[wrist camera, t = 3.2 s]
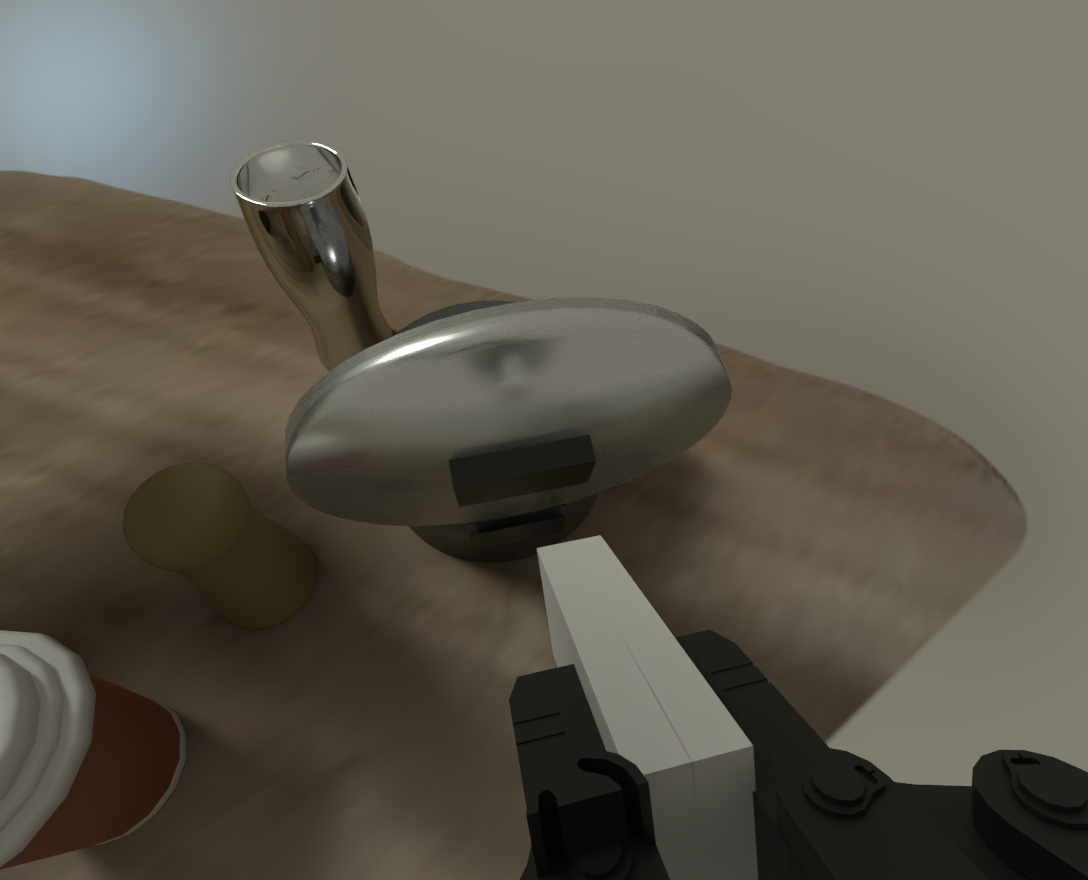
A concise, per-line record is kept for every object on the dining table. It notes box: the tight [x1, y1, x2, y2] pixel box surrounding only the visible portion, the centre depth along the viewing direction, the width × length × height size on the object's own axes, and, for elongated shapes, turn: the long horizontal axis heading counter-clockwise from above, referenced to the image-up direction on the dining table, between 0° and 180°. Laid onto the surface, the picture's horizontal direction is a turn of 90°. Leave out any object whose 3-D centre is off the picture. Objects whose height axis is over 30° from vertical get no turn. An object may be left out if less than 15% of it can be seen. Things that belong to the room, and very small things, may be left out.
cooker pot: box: [396, 301, 598, 562], centre depth 36 cm, size 16×19×8 cm
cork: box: [123, 463, 317, 629], centre depth 30 cm, size 6×6×11 cm
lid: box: [285, 298, 732, 526], centre depth 21 cm, size 16×16×2 cm
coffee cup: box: [0, 630, 187, 869], centre depth 24 cm, size 9×9×12 cm
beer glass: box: [230, 140, 394, 371], centre depth 38 cm, size 7×7×15 cm
